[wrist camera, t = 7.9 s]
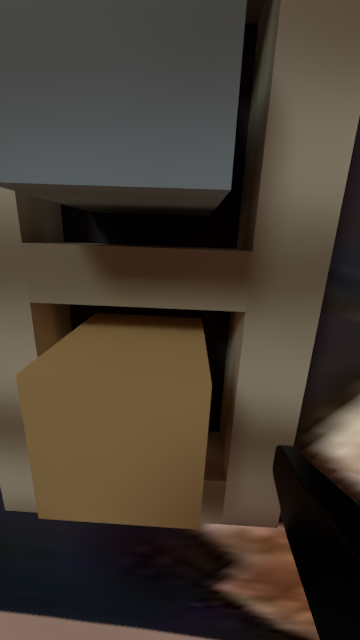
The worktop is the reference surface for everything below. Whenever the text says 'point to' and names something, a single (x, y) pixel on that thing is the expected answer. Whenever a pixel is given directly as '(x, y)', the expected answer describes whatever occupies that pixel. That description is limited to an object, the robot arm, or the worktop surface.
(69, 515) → the block
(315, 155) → the puzzle frame
